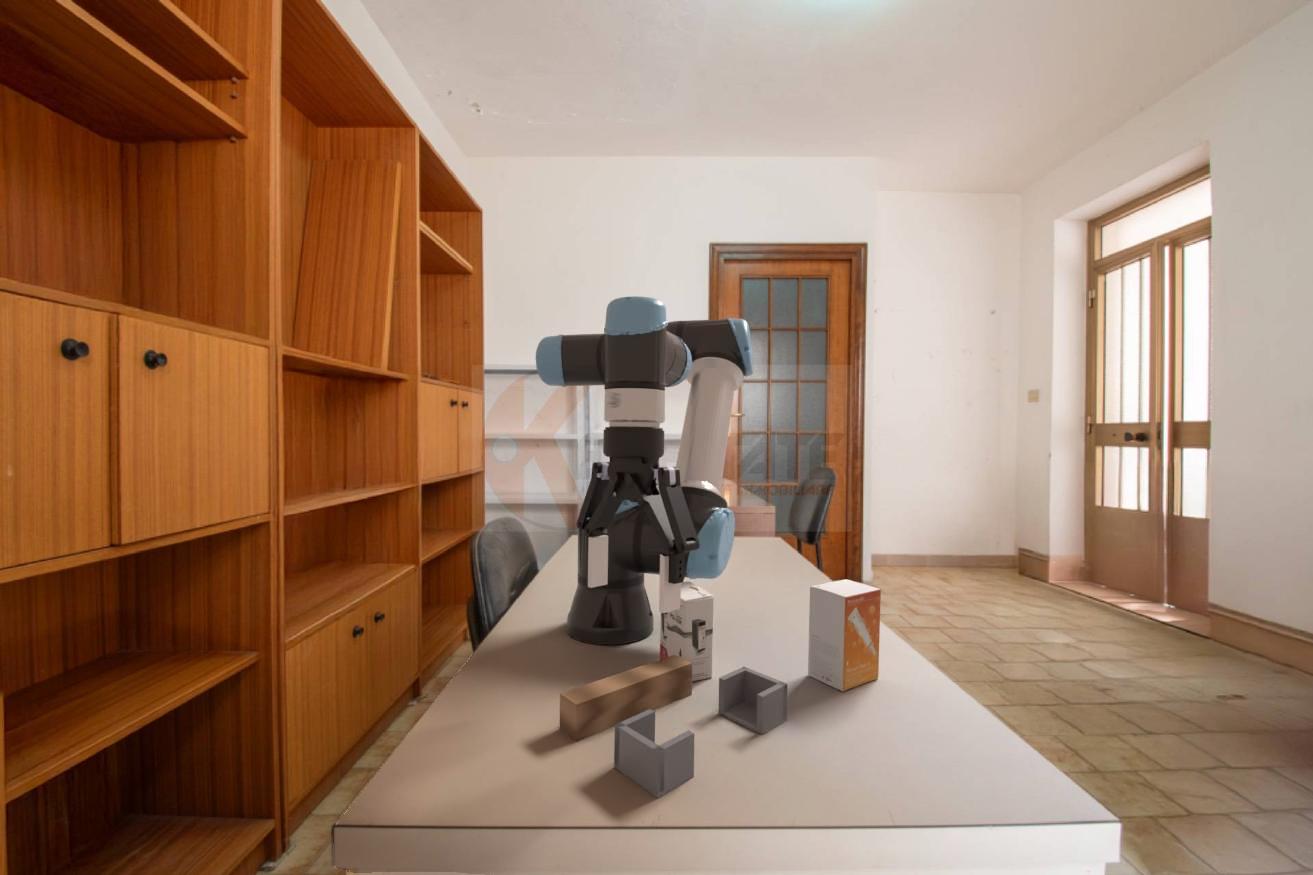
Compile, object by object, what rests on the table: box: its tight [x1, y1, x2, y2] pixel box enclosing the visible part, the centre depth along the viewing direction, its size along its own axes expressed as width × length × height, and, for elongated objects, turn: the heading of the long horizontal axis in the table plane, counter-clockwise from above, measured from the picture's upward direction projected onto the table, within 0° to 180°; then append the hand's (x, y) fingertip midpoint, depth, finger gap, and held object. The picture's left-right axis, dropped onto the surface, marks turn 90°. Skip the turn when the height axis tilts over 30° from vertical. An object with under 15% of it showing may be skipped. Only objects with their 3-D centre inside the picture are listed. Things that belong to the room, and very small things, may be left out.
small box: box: [807, 578, 882, 692], centre depth 80 cm, size 8×6×13 cm
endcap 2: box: [718, 666, 788, 736], centre depth 69 cm, size 7×5×4 cm
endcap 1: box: [613, 709, 695, 799], centre depth 57 cm, size 7×5×4 cm
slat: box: [559, 655, 693, 743], centre depth 70 cm, size 18×4×4 cm, turn 130°
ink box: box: [659, 581, 715, 682], centre depth 82 cm, size 9×5×12 cm, turn 23°
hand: (631, 597), depth 69 cm, fingers open, 13 cm apart
